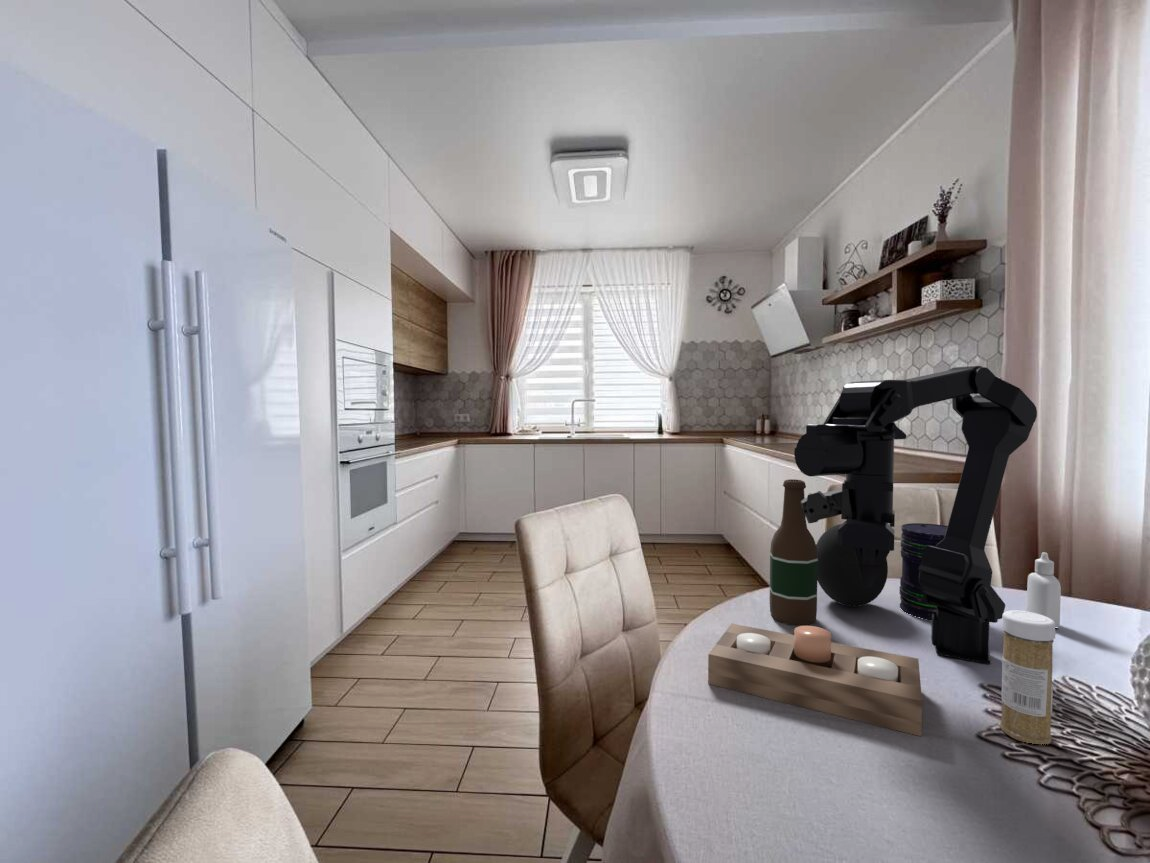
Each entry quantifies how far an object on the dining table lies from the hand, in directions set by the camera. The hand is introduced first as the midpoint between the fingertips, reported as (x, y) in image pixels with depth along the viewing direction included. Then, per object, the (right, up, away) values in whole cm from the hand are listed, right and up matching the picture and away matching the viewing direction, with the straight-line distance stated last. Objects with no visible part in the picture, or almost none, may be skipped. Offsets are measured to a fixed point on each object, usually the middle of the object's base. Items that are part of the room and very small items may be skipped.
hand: (867, 586), depth 77 cm
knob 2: (-3, -11, -7) cm, 13 cm away
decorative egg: (+11, -11, +27) cm, 31 cm away
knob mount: (-9, -12, -3) cm, 16 cm away
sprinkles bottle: (+10, -13, -14) cm, 22 cm away
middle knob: (-9, -8, -4) cm, 13 cm away
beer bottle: (-2, -11, +20) cm, 23 cm away
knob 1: (-16, -11, 0) cm, 19 cm away
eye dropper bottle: (+39, -11, +18) cm, 44 cm away
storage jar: (+23, -11, +23) cm, 35 cm away
